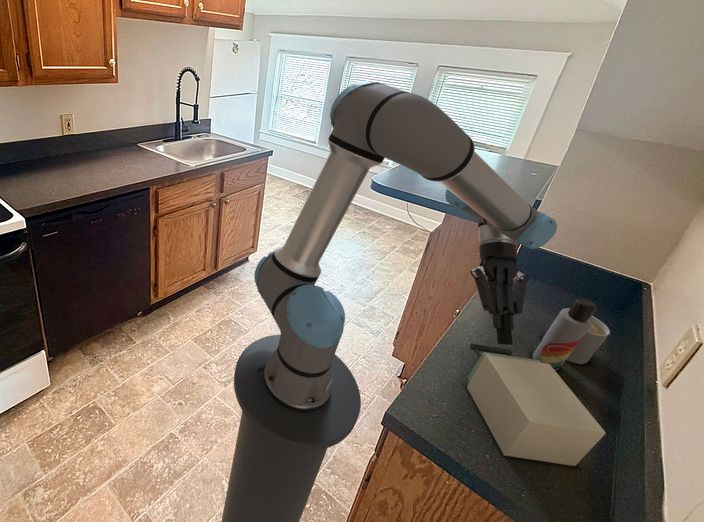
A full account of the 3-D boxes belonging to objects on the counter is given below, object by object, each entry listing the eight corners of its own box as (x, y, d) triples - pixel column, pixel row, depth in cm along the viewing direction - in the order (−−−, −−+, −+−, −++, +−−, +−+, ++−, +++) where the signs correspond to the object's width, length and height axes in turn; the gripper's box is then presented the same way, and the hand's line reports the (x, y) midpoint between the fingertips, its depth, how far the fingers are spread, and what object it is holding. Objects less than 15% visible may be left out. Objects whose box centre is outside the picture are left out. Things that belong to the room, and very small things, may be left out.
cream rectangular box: (466, 386, 88) (485, 354, 83) (526, 395, 87) (549, 363, 82) (503, 455, 74) (529, 421, 69) (575, 466, 74) (606, 433, 69)
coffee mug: (587, 370, 96) (610, 342, 91) (540, 348, 102) (559, 320, 97) (588, 343, 105) (609, 316, 100) (545, 323, 111) (563, 297, 106)
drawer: (455, 357, 94) (469, 331, 90) (505, 364, 94) (522, 338, 90) (501, 439, 76) (521, 411, 72) (564, 448, 76) (588, 421, 72)
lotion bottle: (555, 375, 94) (601, 314, 84) (529, 360, 97) (570, 300, 88) (560, 364, 97) (605, 304, 88) (534, 349, 101) (575, 291, 91)
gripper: (512, 251, 97) (521, 347, 90) (461, 244, 98) (466, 339, 91) (536, 244, 90) (547, 348, 83) (480, 237, 90) (486, 340, 84)
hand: (504, 344), depth 87 cm, fingers closed
